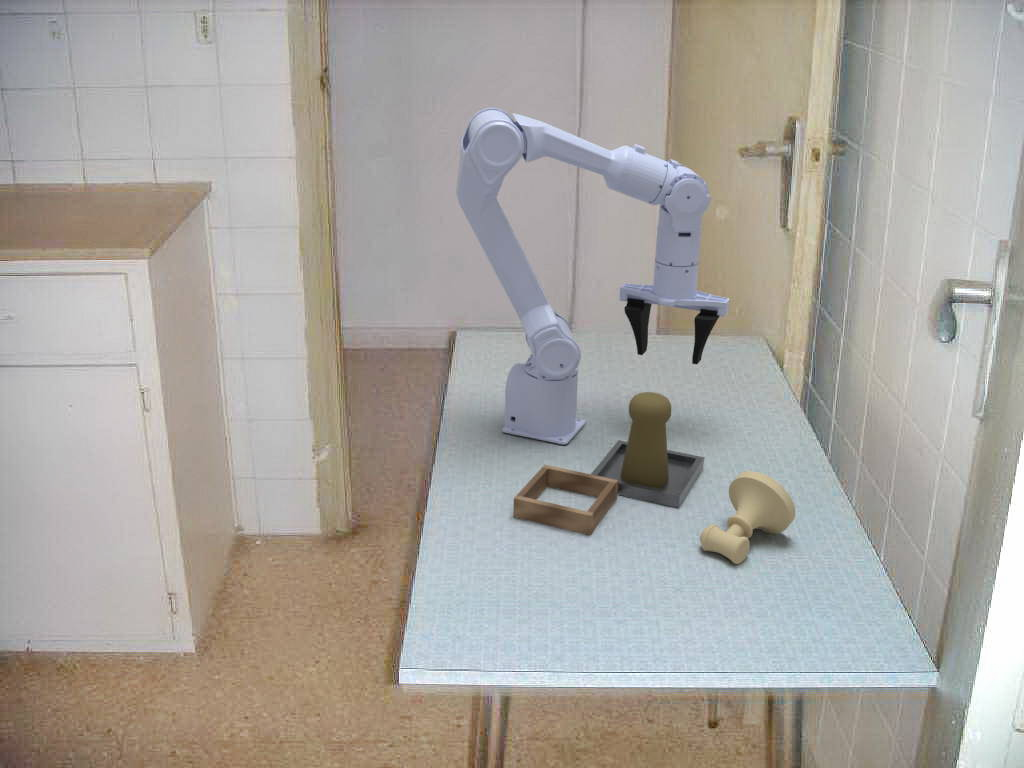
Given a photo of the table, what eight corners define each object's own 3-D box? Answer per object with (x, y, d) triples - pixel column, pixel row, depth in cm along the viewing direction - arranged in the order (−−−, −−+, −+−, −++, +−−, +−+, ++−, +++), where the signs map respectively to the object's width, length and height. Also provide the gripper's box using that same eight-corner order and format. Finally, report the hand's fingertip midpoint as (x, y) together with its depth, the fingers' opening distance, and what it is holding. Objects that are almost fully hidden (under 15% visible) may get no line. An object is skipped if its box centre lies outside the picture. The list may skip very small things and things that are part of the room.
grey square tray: (587, 488, 135) (588, 476, 134) (617, 450, 144) (618, 440, 144) (678, 508, 130) (679, 496, 130) (703, 468, 140) (704, 457, 140)
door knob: (746, 540, 115) (683, 514, 120) (751, 591, 119) (690, 564, 124) (794, 485, 120) (731, 462, 125) (796, 536, 124) (736, 512, 129)
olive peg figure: (677, 474, 137) (684, 394, 132) (655, 492, 132) (662, 410, 128) (634, 461, 140) (640, 382, 136) (611, 479, 135) (617, 398, 131)
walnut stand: (513, 516, 128) (513, 498, 127) (544, 482, 136) (544, 464, 135) (590, 535, 124) (591, 515, 123) (617, 498, 132) (618, 480, 131)
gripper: (614, 261, 142) (609, 358, 147) (724, 276, 136) (714, 376, 142) (631, 248, 148) (625, 341, 153) (736, 262, 142) (726, 358, 148)
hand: (669, 357), depth 148 cm, fingers open, 7 cm apart
